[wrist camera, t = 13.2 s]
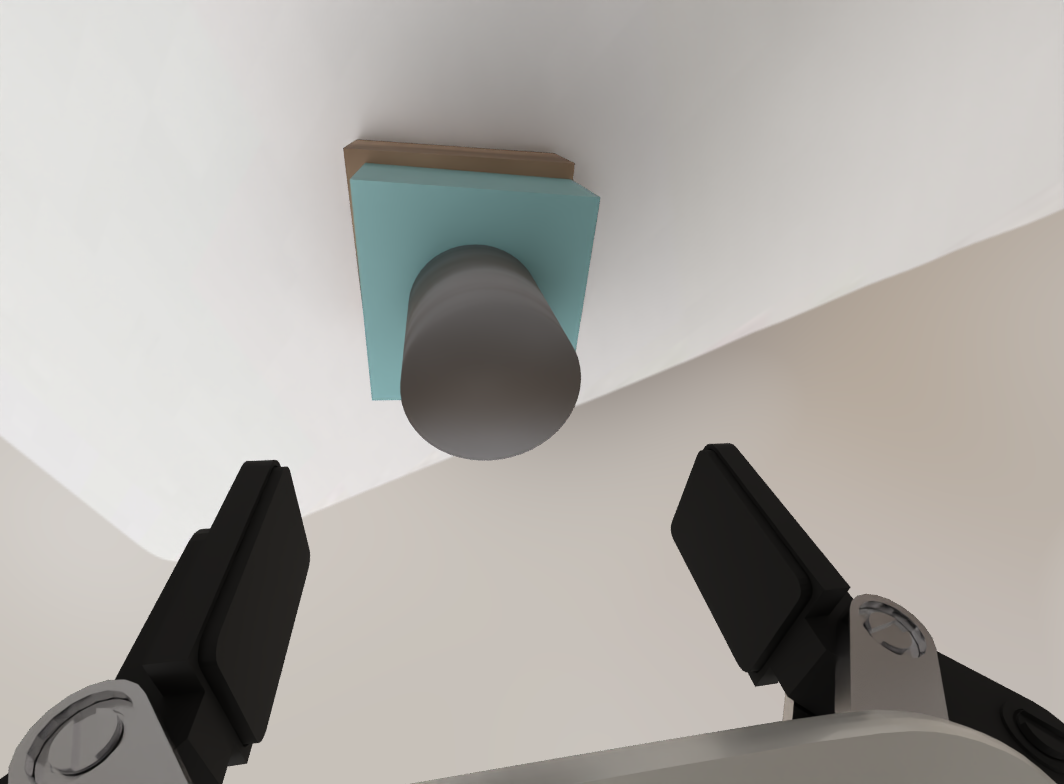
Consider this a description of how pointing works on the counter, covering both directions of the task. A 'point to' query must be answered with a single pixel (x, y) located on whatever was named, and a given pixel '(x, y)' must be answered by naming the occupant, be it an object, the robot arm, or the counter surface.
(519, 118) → the counter surface
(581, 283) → the teal top block
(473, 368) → the charcoal cylinder
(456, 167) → the walnut base block
